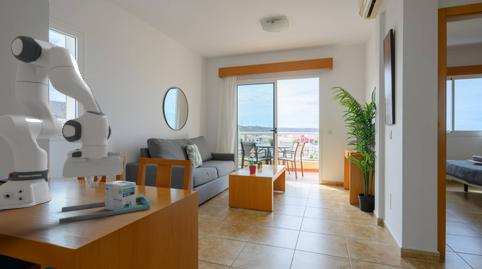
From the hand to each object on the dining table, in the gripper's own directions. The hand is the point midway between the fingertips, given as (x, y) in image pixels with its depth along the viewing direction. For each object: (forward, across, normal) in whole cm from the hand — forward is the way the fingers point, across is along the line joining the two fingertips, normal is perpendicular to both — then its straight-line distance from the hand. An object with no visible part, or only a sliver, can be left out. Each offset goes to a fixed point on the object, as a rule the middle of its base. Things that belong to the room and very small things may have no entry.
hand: (93, 187), depth 95 cm
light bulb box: (+10, -10, +1) cm, 14 cm away
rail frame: (+10, -6, +1) cm, 11 cm away
